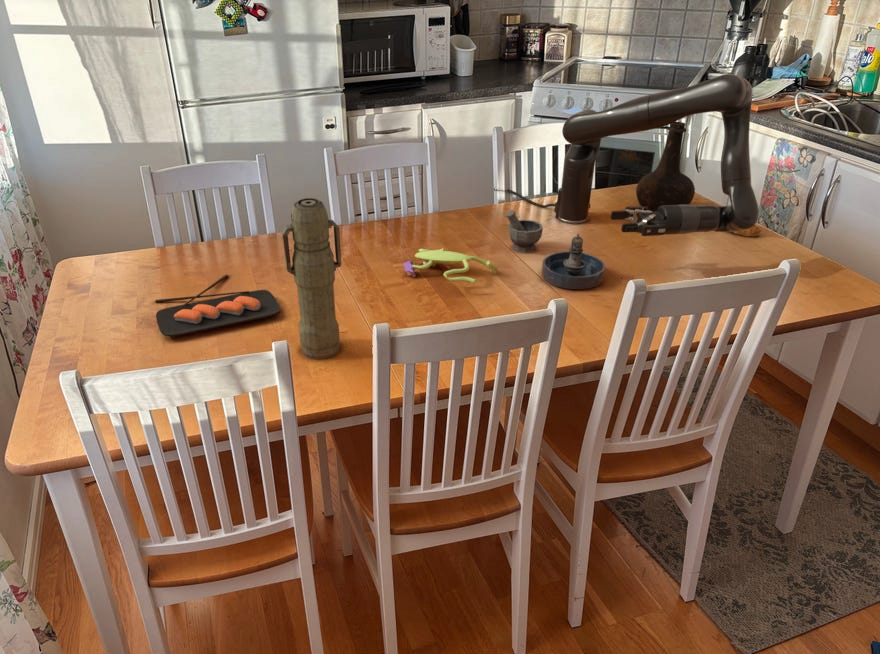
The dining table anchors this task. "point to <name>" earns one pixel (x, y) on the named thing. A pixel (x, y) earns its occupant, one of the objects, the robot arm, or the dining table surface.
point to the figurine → (445, 258)
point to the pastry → (749, 231)
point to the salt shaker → (575, 258)
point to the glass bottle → (667, 176)
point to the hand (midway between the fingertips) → (616, 221)
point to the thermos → (314, 276)
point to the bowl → (590, 278)
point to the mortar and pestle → (523, 232)
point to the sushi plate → (215, 311)
